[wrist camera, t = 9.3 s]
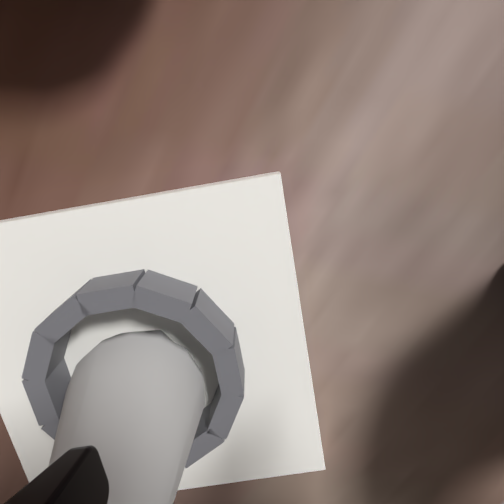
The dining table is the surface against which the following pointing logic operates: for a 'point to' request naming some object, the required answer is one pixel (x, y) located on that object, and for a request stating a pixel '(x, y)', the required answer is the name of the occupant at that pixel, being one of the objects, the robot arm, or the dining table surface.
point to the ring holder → (165, 319)
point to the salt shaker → (134, 414)
